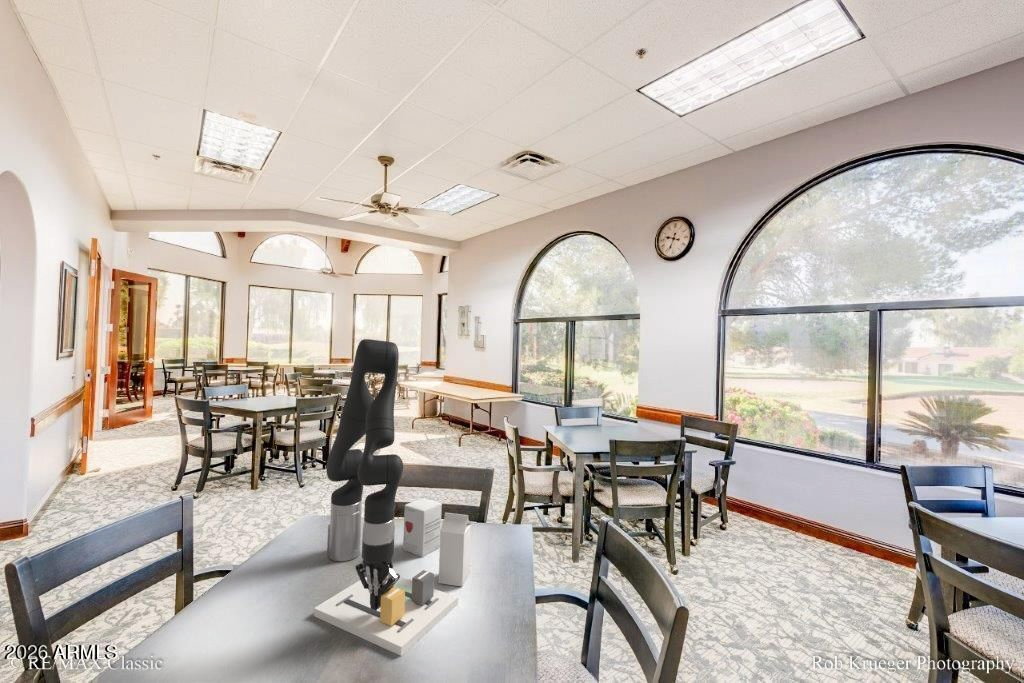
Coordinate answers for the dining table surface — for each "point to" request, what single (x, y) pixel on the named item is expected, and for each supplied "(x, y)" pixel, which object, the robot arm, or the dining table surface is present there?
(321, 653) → the dining table surface
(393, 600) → the fader amber
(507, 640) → the dining table surface
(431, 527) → the supplement box
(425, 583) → the fader charcoal
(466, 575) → the milk carton
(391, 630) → the board
